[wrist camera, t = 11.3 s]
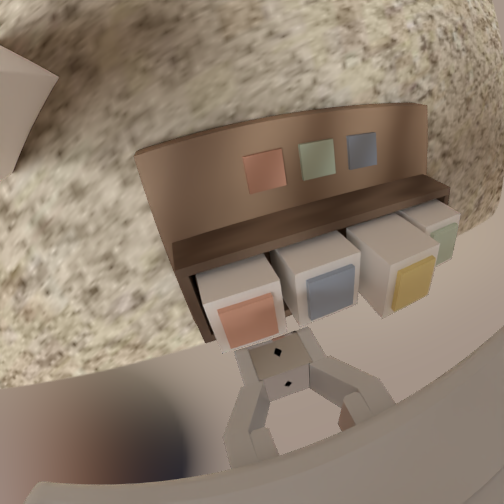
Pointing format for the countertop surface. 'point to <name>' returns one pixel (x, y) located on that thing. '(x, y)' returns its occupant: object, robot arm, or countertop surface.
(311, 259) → the key slate
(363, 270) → the key mustard
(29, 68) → the milk
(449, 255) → the key sage
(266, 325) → the key terracotta
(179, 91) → the countertop surface
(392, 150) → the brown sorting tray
